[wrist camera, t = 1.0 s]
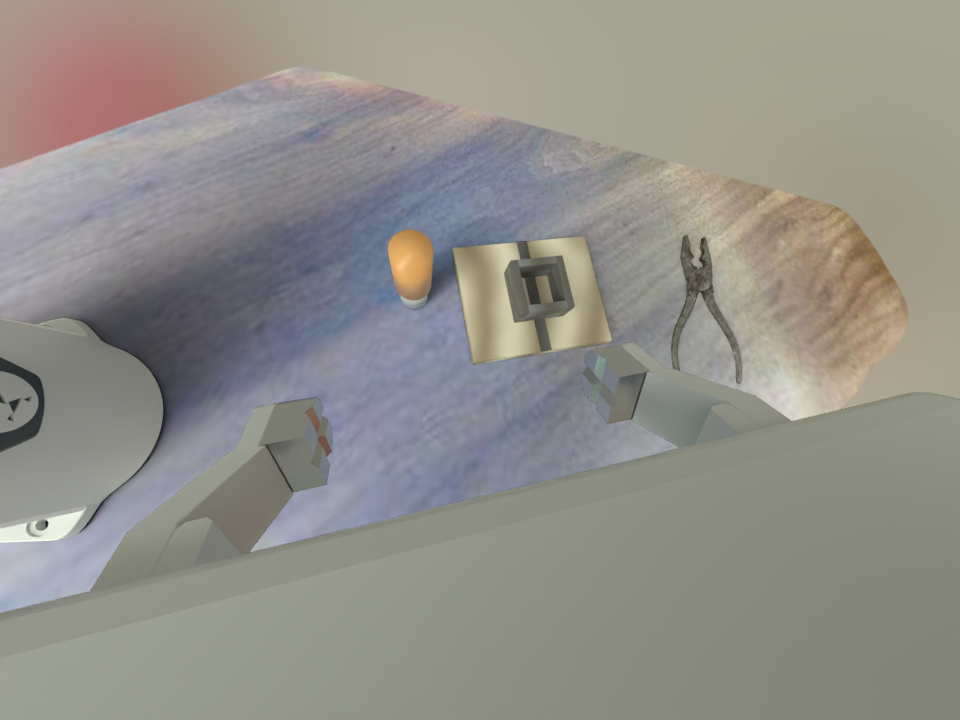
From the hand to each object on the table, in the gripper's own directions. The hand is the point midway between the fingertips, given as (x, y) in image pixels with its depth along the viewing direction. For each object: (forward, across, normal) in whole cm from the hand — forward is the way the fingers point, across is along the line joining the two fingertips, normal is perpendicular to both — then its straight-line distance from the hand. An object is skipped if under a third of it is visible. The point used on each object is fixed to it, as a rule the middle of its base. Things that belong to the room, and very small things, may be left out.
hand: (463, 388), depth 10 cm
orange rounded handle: (+27, 0, +8) cm, 29 cm away
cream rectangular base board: (+26, -13, +10) cm, 31 cm away
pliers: (+24, -34, +14) cm, 43 cm away
